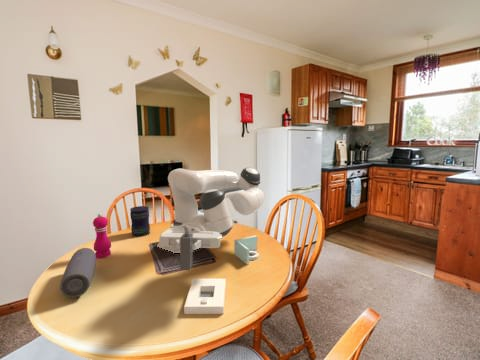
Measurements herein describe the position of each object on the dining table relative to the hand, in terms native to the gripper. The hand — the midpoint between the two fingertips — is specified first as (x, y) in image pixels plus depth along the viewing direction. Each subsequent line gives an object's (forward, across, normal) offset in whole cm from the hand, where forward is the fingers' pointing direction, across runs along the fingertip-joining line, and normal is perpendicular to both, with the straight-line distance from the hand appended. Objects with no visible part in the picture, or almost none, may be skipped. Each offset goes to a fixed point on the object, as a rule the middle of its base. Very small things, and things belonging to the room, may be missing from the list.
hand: (186, 247), depth 79 cm
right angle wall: (-37, -22, -18) cm, 47 cm away
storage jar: (-65, +40, -18) cm, 78 cm away
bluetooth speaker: (-14, +42, -21) cm, 49 cm away
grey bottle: (-1, 0, -6) cm, 7 cm away
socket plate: (-6, -6, -20) cm, 21 cm away
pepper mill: (-38, +46, -19) cm, 63 cm away
